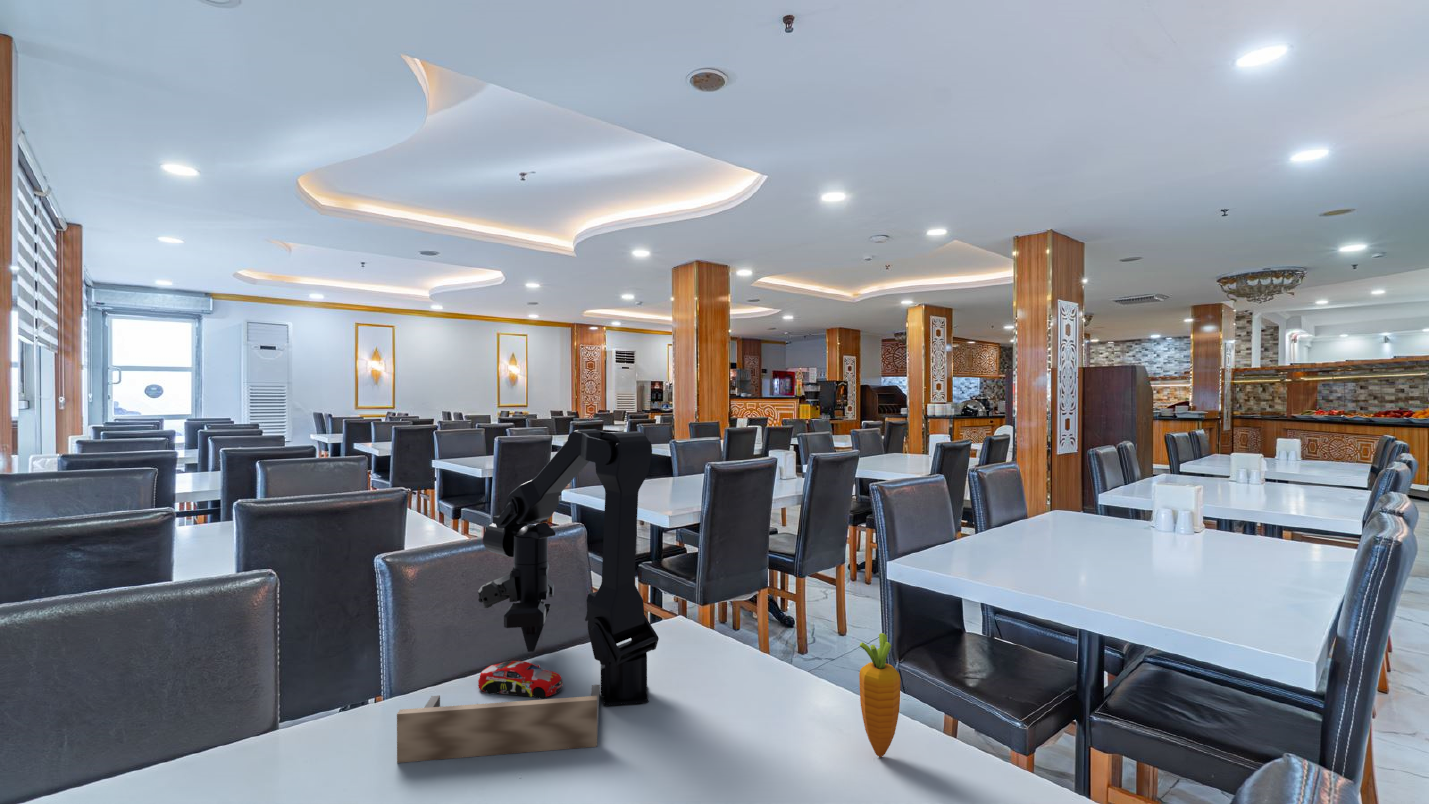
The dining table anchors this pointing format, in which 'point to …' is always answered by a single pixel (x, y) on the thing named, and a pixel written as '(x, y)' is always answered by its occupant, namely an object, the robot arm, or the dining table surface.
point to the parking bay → (497, 728)
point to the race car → (519, 680)
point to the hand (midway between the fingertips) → (531, 651)
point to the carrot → (879, 696)
